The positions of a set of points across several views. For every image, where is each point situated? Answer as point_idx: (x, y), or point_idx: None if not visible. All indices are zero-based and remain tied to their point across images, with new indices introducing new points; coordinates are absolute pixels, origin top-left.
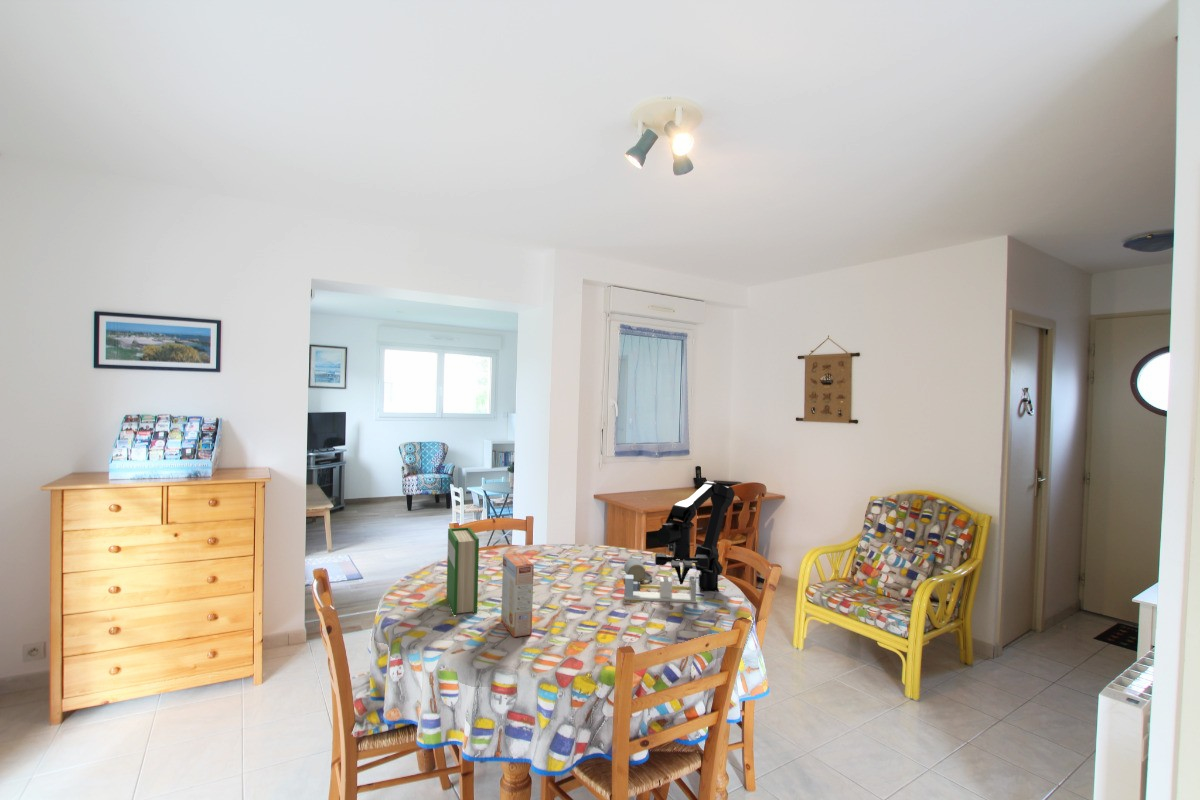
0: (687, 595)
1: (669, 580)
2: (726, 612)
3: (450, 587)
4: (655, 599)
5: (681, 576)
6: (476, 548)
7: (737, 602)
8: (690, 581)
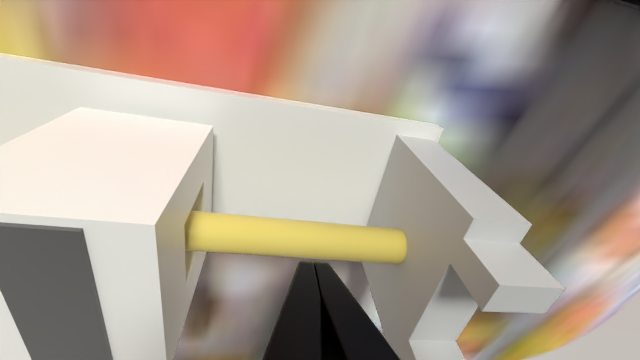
0: (367, 165)
1: (129, 341)
2: (471, 346)
3: None
4: None
5: (334, 336)
6: None
7: (627, 245)
8: (433, 298)
